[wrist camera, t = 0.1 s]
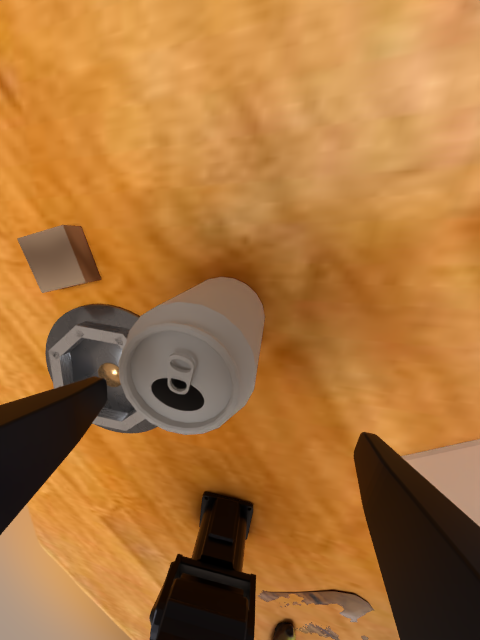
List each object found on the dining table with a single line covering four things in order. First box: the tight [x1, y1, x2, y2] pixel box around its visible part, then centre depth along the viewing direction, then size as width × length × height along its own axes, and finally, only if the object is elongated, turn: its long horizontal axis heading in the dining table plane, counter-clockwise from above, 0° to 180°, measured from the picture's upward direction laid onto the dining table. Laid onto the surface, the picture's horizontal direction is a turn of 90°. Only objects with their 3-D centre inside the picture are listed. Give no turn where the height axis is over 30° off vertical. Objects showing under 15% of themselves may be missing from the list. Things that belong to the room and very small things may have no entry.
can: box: [119, 277, 265, 435], centre depth 17 cm, size 8×8×12 cm
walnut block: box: [18, 225, 101, 293], centre depth 22 cm, size 5×5×2 cm
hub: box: [46, 304, 158, 433], centre depth 26 cm, size 16×16×2 cm
